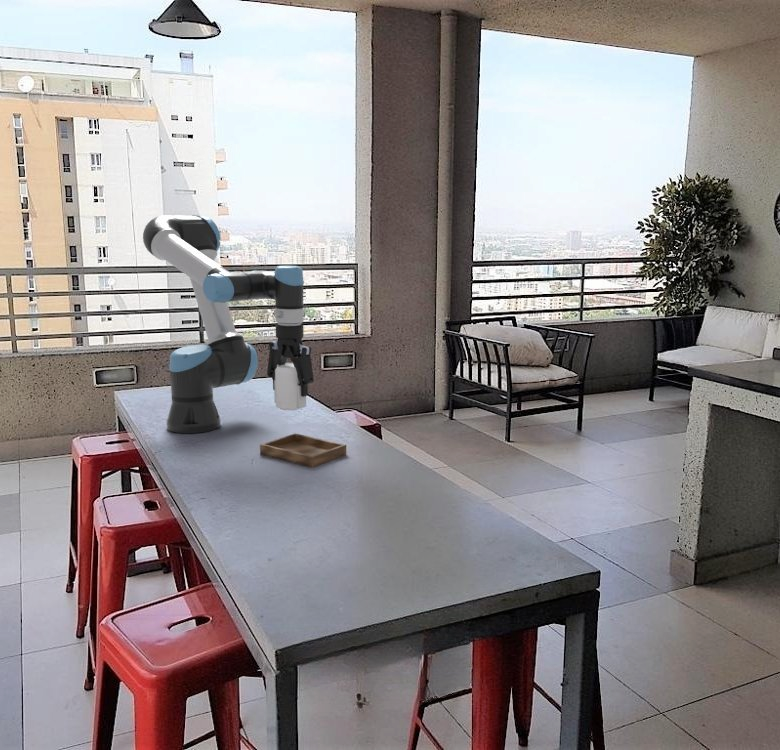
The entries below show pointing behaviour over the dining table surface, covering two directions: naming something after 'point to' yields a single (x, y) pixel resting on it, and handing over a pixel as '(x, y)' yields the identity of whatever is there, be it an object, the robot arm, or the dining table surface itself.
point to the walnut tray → (303, 450)
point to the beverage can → (286, 386)
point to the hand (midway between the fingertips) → (290, 404)
